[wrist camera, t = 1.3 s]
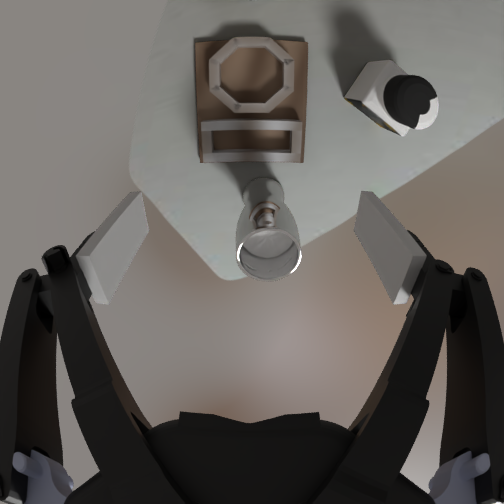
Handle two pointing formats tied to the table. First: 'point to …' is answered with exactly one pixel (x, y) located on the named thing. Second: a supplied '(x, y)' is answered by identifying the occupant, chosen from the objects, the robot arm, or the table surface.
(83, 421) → the robot arm
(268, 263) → the beer glass
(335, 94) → the table surface
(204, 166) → the table surface
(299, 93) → the socket board
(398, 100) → the medicine bottle
